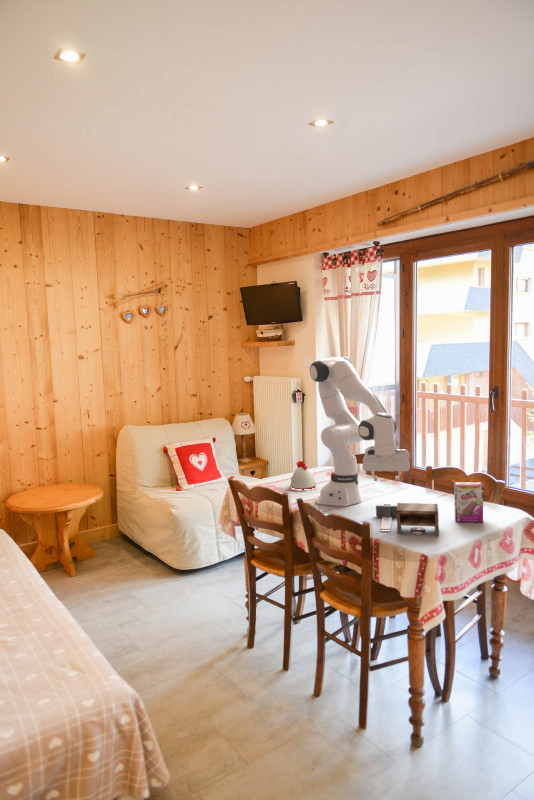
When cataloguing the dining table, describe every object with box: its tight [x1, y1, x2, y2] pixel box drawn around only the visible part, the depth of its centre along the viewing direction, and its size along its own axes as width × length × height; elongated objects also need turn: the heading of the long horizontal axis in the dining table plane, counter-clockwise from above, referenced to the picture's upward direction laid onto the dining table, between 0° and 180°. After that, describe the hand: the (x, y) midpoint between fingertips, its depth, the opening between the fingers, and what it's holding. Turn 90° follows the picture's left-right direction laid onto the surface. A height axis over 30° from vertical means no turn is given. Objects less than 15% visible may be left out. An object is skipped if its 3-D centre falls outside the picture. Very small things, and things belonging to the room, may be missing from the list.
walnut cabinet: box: [396, 502, 440, 537], centre depth 222 cm, size 16×10×10 cm, turn 75°
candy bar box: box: [453, 481, 484, 524], centre depth 231 cm, size 11×5×16 cm, turn 77°
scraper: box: [375, 503, 397, 531], centre depth 234 cm, size 10×20×6 cm, turn 165°
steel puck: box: [409, 526, 427, 535], centre depth 222 cm, size 6×6×2 cm
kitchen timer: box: [289, 460, 317, 490], centre depth 299 cm, size 14×14×15 cm
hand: (386, 480), depth 239 cm, fingers open, 8 cm apart
